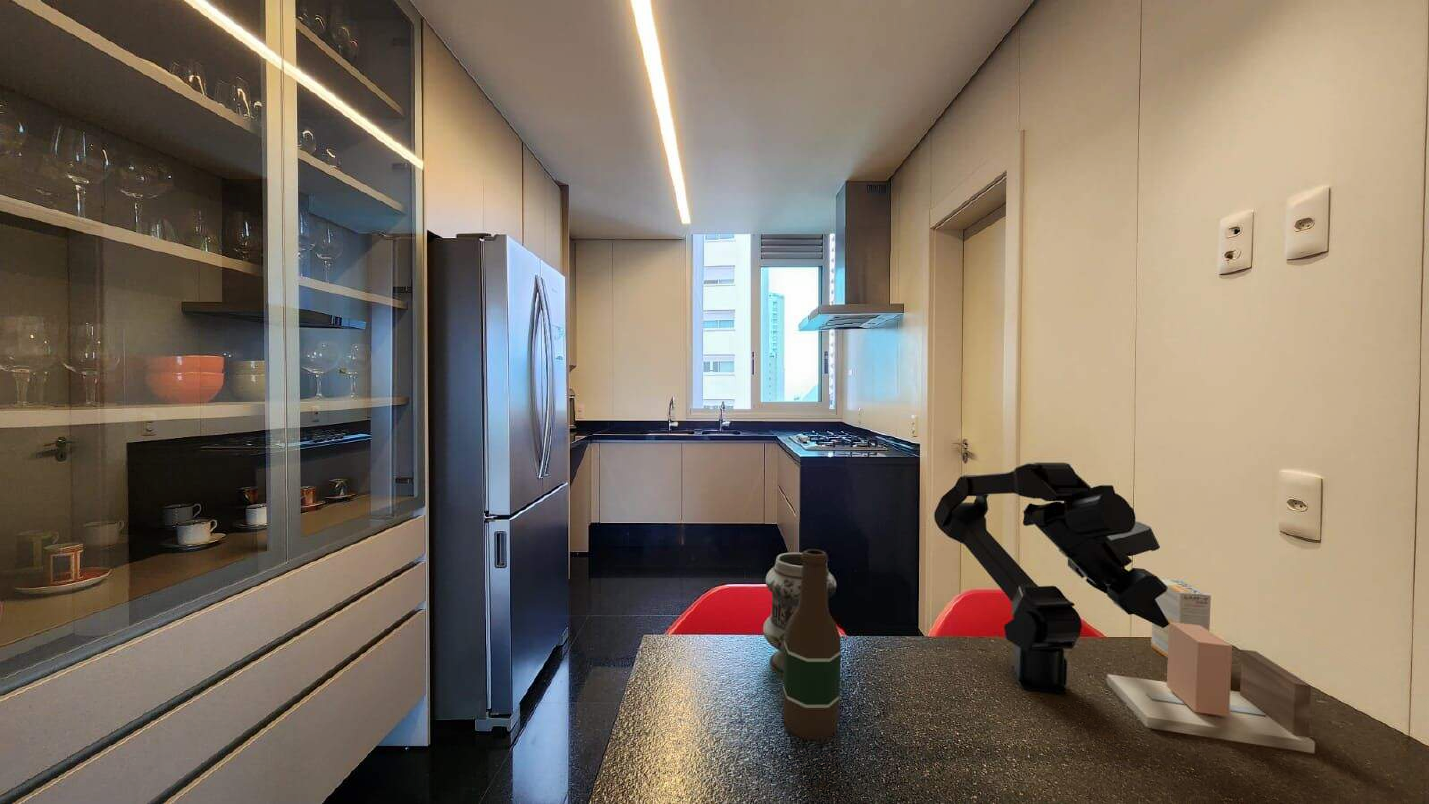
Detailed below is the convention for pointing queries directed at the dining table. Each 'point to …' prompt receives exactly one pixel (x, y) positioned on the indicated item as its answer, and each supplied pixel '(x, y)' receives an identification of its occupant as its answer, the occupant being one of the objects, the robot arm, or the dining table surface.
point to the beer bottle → (812, 657)
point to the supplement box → (1180, 611)
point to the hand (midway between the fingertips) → (1155, 617)
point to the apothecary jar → (785, 601)
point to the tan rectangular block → (1199, 668)
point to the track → (1231, 707)
